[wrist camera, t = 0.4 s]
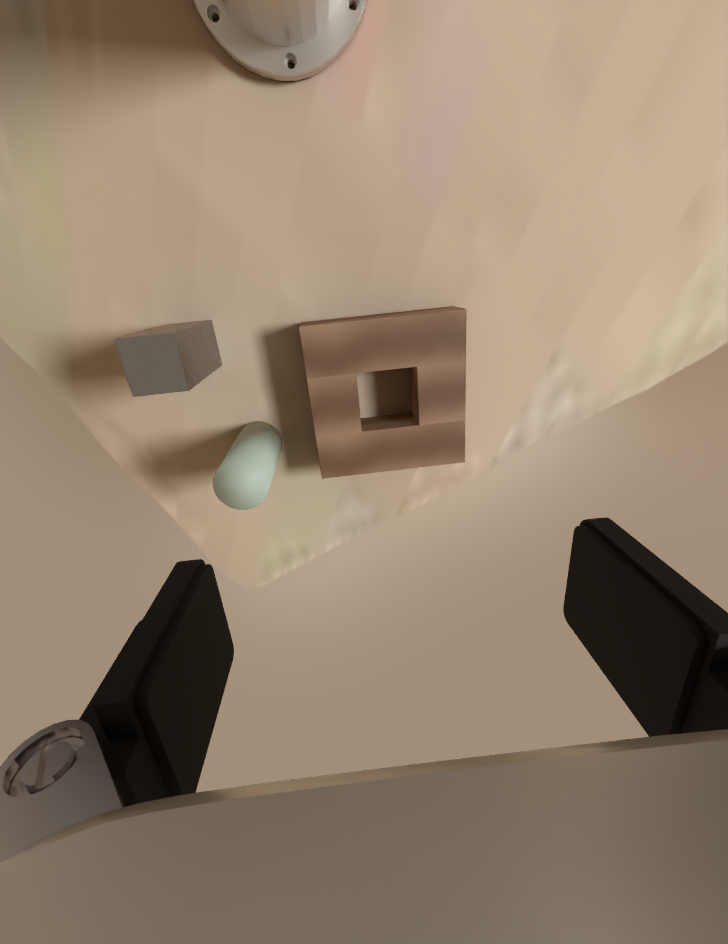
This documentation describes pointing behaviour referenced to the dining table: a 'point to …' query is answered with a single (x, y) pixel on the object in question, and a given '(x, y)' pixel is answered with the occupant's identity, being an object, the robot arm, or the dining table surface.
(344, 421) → the socket block
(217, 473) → the round peg
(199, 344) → the square peg
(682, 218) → the dining table surface
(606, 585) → the robot arm
